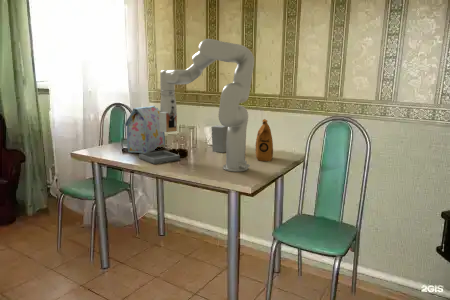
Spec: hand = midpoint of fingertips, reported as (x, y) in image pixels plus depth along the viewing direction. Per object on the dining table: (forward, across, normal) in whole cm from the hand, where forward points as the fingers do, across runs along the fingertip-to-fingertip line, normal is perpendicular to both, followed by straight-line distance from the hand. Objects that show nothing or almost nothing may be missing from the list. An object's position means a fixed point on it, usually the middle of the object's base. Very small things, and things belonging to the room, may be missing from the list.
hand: (168, 126), depth 195 cm
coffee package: (+18, -32, -42) cm, 56 cm away
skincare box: (+18, -2, -34) cm, 39 cm away
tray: (+18, 0, +6) cm, 19 cm away
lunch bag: (+18, +27, 0) cm, 32 cm away
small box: (+3, 0, 0) cm, 3 cm away
